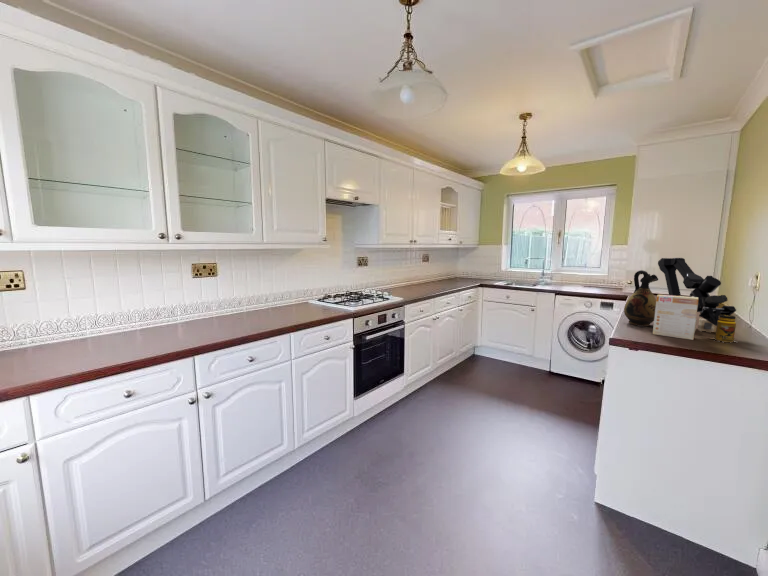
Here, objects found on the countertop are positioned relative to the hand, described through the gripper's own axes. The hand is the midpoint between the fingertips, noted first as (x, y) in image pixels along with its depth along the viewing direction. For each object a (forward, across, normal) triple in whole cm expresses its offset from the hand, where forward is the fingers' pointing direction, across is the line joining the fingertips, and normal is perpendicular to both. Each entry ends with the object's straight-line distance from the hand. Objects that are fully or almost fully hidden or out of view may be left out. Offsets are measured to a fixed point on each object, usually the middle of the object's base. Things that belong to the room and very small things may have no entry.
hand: (717, 325), depth 158 cm
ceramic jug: (-13, -20, +23) cm, 33 cm away
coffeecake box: (+5, -18, +5) cm, 19 cm away
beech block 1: (-5, -3, +14) cm, 15 cm away
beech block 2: (-7, +6, +16) cm, 18 cm away
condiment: (+7, 0, +2) cm, 8 cm away
